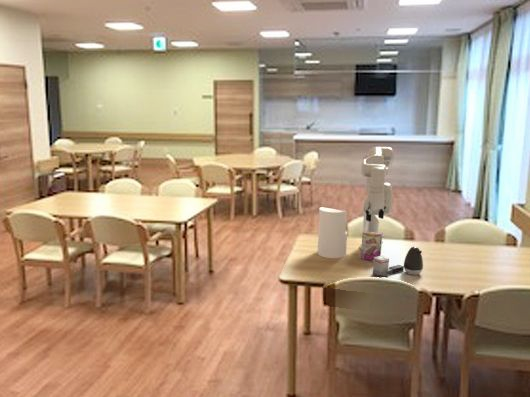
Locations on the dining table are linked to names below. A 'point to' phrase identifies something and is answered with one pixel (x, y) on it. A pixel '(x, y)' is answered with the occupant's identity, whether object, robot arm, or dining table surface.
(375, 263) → the cardboard mailer box
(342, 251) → the cylinder
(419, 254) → the dark brown rounded piece
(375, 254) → the candy bar box
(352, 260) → the dining table surface
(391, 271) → the small saucepan
